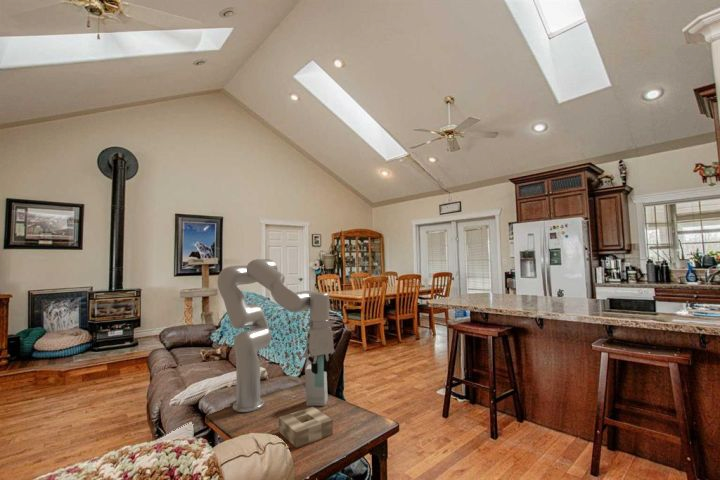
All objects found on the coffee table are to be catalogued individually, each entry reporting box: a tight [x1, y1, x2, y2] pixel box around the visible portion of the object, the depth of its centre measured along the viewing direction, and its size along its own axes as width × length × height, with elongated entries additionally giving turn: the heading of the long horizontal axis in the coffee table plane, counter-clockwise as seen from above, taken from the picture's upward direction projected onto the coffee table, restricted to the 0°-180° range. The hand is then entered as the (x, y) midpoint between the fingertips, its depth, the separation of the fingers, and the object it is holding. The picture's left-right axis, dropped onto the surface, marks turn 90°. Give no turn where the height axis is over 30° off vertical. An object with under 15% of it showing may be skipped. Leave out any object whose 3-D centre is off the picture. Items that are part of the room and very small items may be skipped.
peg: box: [315, 355, 324, 387], centre depth 135 cm, size 4×4×12 cm
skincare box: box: [304, 364, 329, 407], centre depth 149 cm, size 8×7×16 cm
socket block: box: [278, 406, 334, 449], centre depth 123 cm, size 14×14×5 cm
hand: (319, 371), depth 135 cm, fingers closed on peg, 3 cm apart
